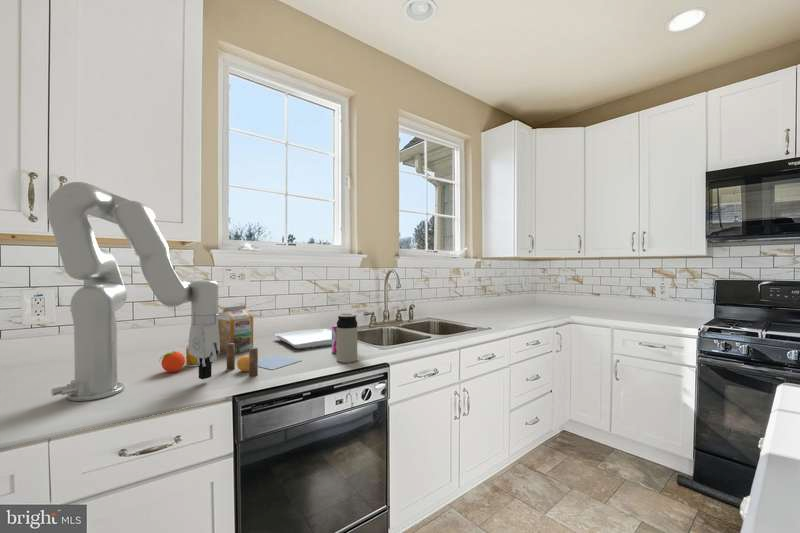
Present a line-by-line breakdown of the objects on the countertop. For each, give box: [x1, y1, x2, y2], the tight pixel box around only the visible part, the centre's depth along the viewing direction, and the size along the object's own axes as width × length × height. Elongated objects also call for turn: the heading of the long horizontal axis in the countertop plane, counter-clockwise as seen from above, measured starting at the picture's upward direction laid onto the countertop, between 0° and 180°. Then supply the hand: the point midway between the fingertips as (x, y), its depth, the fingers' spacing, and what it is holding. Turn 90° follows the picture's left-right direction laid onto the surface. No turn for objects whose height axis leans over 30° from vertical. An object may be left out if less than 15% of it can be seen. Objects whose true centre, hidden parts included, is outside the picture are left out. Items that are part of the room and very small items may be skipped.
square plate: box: [274, 328, 332, 349], centre depth 174 cm, size 27×27×4 cm
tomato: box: [158, 350, 186, 373], centre depth 126 cm, size 8×7×7 cm
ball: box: [236, 354, 249, 373], centre depth 127 cm, size 6×6×6 cm
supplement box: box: [331, 324, 337, 355], centre depth 154 cm, size 6×6×12 cm
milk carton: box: [218, 304, 254, 355], centre depth 156 cm, size 11×11×19 cm
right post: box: [248, 347, 259, 377], centre depth 123 cm, size 3×3×9 cm
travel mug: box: [336, 312, 358, 364], centre depth 142 cm, size 8×8×18 cm
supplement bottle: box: [185, 338, 199, 368], centre depth 134 cm, size 5×5×10 cm
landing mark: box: [258, 354, 303, 371], centre depth 138 cm, size 14×14×1 cm
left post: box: [226, 343, 236, 371], centre depth 130 cm, size 3×3×9 cm
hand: (205, 377), depth 115 cm, fingers closed
